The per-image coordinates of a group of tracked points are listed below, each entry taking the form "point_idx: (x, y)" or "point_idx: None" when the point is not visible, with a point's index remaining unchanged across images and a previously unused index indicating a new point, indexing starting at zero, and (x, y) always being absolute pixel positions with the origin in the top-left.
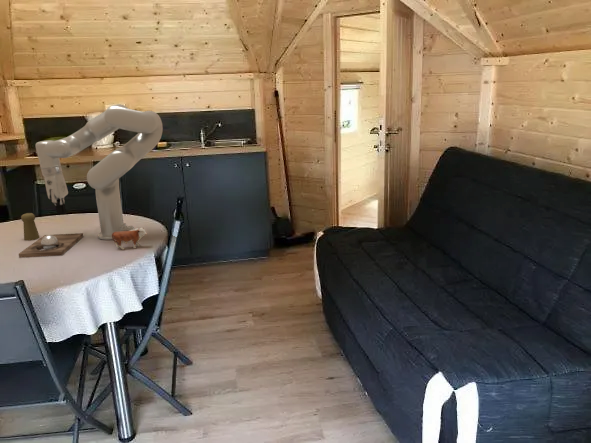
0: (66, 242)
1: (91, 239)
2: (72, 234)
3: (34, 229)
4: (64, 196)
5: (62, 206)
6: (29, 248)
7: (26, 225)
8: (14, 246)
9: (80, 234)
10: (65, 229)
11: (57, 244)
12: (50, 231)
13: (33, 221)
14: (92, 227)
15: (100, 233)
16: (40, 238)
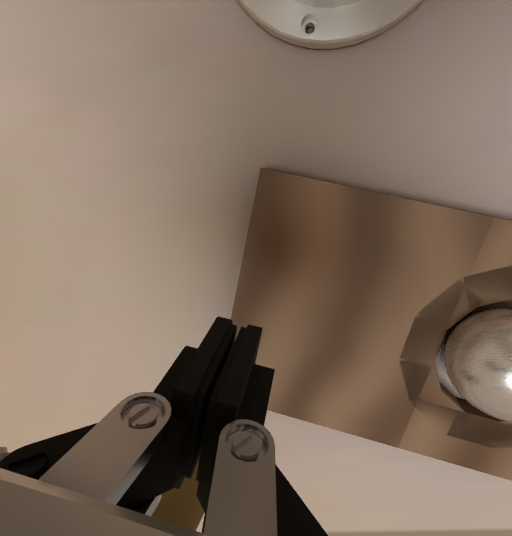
0: (465, 256)
1: (367, 96)
2: (269, 237)
3: (196, 465)
4: (128, 513)
5: (242, 401)
6: (481, 452)
7: (194, 529)
8: (314, 501)
9: (291, 181)
10: (74, 296)
11: (508, 309)
12: (95, 367)
13: (162, 511)
14: (64, 134)
15: (301, 22)
16: (283, 411)
